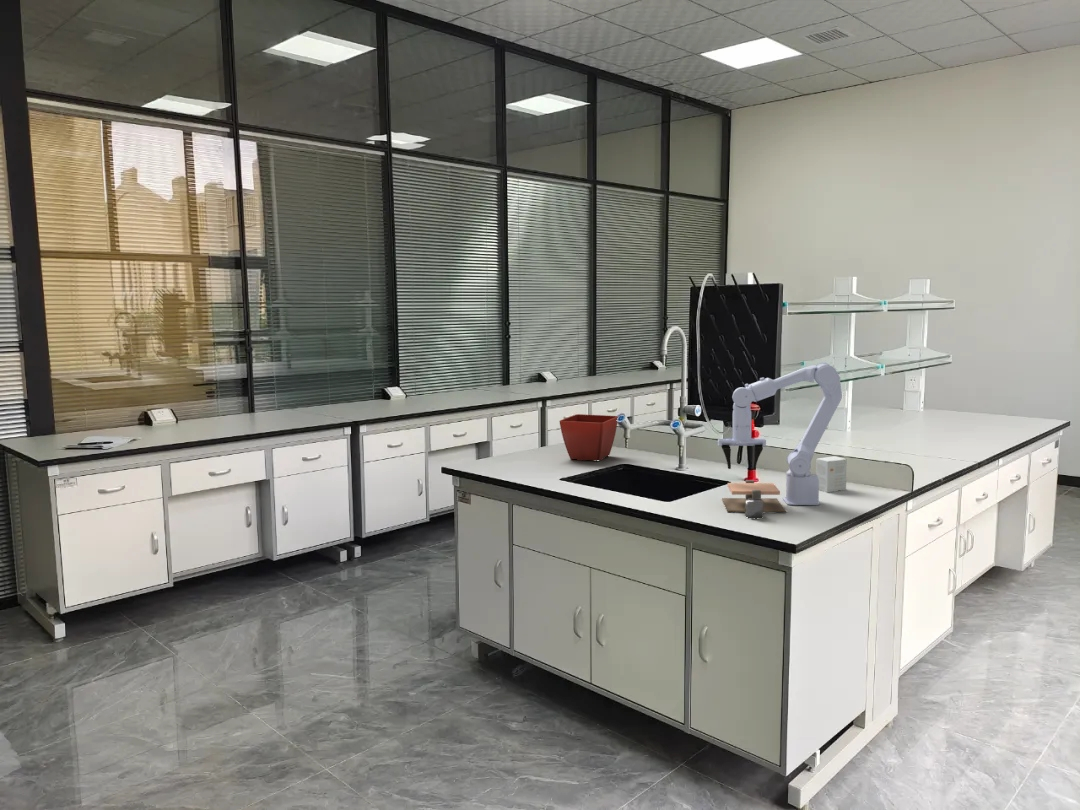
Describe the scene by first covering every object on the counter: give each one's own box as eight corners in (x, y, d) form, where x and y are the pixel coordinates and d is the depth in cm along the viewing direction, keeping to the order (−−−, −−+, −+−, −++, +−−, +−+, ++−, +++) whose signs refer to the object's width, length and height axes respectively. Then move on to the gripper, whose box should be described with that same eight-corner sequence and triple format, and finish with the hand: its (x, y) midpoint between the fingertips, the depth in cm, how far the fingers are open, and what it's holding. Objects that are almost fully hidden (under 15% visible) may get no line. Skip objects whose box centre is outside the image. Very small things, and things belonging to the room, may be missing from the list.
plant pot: (603, 464, 305) (602, 422, 303) (559, 461, 313) (558, 420, 311) (619, 455, 322) (619, 415, 320) (577, 452, 330) (576, 414, 328)
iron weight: (761, 514, 227) (761, 498, 226) (764, 519, 222) (764, 502, 221) (744, 514, 227) (744, 498, 227) (746, 519, 222) (746, 502, 222)
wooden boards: (776, 500, 243) (777, 480, 242) (786, 512, 228) (786, 491, 227) (721, 499, 245) (722, 480, 244) (727, 512, 230) (727, 491, 229)
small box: (834, 486, 258) (835, 455, 257) (846, 490, 253) (847, 458, 252) (815, 489, 256) (815, 458, 254) (827, 492, 250) (827, 461, 249)
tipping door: (773, 485, 240) (773, 482, 240) (780, 494, 229) (780, 491, 229) (727, 485, 242) (727, 482, 242) (732, 494, 231) (732, 491, 231)
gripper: (719, 427, 237) (719, 470, 239) (767, 427, 236) (767, 470, 237) (717, 424, 244) (717, 466, 246) (764, 424, 243) (763, 466, 244)
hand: (741, 468), depth 242 cm, fingers open, 7 cm apart
